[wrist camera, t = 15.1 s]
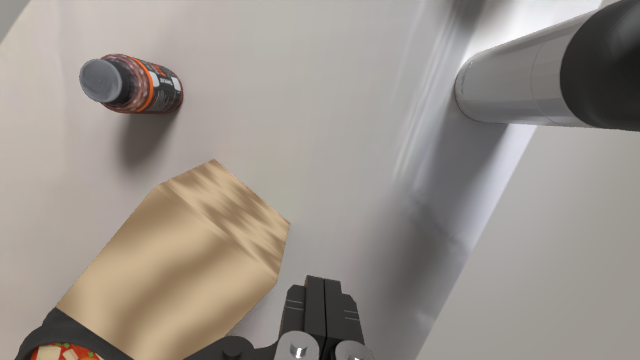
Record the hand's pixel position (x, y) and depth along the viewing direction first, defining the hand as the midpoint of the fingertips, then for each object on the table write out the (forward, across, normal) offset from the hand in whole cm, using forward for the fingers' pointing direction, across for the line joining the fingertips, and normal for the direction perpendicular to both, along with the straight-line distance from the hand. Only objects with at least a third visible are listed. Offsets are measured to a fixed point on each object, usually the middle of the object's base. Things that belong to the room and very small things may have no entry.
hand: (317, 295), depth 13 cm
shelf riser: (+29, +12, +12) cm, 34 cm away
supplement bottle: (+29, +22, -6) cm, 37 cm away
